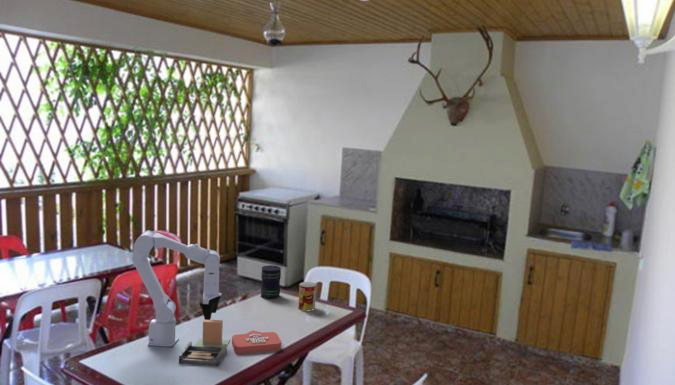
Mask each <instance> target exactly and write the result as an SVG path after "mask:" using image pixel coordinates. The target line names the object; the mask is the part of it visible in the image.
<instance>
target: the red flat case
mask: <svg viewBox="0 0 675 385" xmlns="http://www.w3.org/2000/svg"><path fill="white" fill-rule="evenodd" d="M231 345H232V348H233V351H234V353H235V354H237V355H244V354H254V353H255V354H257V353H267V352H276V351H277V352H278V351H281V349H282V340H281V339H280V337H279V335H278V333H277V332H275V331H265V332H262V331H257V330H250V331H249V332H247V333H246V332H245V333H239V334H238V333H237V334H234V335H232V336H231Z"/></svg>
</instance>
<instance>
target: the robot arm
mask: <svg viewBox="0 0 675 385" xmlns="http://www.w3.org/2000/svg"><path fill="white" fill-rule="evenodd" d="M153 247H154V250H157V249H161V248H165V249H169V250H171V251H175V252H177V253H181V254H183V255H184V256H185V258H186V259H187V260H191V261H193V262H196V263H198V264H203V265H204V271H203V272H204V273H203V293H202V297H203V298H202V300H201V301H200V302H199V306H200V308H201V310H202V314H203V319H204V320H212V314H216V313H217V310H218V307H219V306H218V305H219V302H220V300H221V298H222V294H223V293H222V292H220V289H219V288H220V287H219V286H220V285H219V284H220V264H221V263H220V260H221V256H220V253H218V251H216V250H215V249H210V248H204V247H201V246H199V244H197V243H195V244H193V243H191V244H188V245H187V244H185V243H182V242H180V241H178V240H175V239H173V238H171V237H168V236H167V235H163V234H161V233H159V232H154V231H153V230H145V231H144V232H142V233H141V235H140V236H138V237H137V238H136V240H135V242H134V243H133V247H132V248H133V251H132V258H131V261H132V263H133V265H134V267H135V269H136V271H137V273H138V275H139V276H140V279H141V280H142V283H143V284H144V286H145V288H146V291H147V292H148V294H149V296H150V298H151V300H152V303H153V309H154V311H155V318H154V319H151V320H150V323H149V324H148V343H147V345H148V346H154V347H155V346H157V347H173V346H174V345H175V344H176V343H177V341H178V340H179V339H180V338H179V337H176V321H177V319H176V317H175V315H174V314H175V312H176V309H177V305H176V303H175V301H173V300H172V299H170V297H169V295H167V293H165V291H164V289H163V287H162V285H161V283H160V281H159V278H158V276H157V275H156V273H155V271H154V269H153V266H152V265H151V263H150V261H149V259H148V257H149V254H150V252H151V250H152V249H153Z"/></svg>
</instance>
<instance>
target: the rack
mask: <svg viewBox="0 0 675 385" xmlns="http://www.w3.org/2000/svg"><path fill="white" fill-rule="evenodd" d="M192 352H198V353H211V356H212V357H213V358H215V359H213V360H198V359H187V357H188V355H191V353H192ZM225 354H227V347H226V344H224V345H223V347H207V346H195V345H193V342H192V341H189V342H188V343H187V344H186V346H185V347H184V348H183V350H182V351H181V352H180V353H179V355H178V364H179V365H181V364H182V365H192V366H193V365H194V366H195V365H197V366H210V367H211V366H213V367H219V364H220V363H221V362H222V360H223V359H224V356H225Z"/></svg>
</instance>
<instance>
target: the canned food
mask: <svg viewBox="0 0 675 385" xmlns="http://www.w3.org/2000/svg"><path fill="white" fill-rule="evenodd" d="M316 291H317V284H316V283H315V282H310V281H303V282H300V283H299V292H298V310H299V309H300V311H302V310H304V311H303V312H308V311H307V310H312V309H314V308H316ZM314 310H315V309H314Z"/></svg>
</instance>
